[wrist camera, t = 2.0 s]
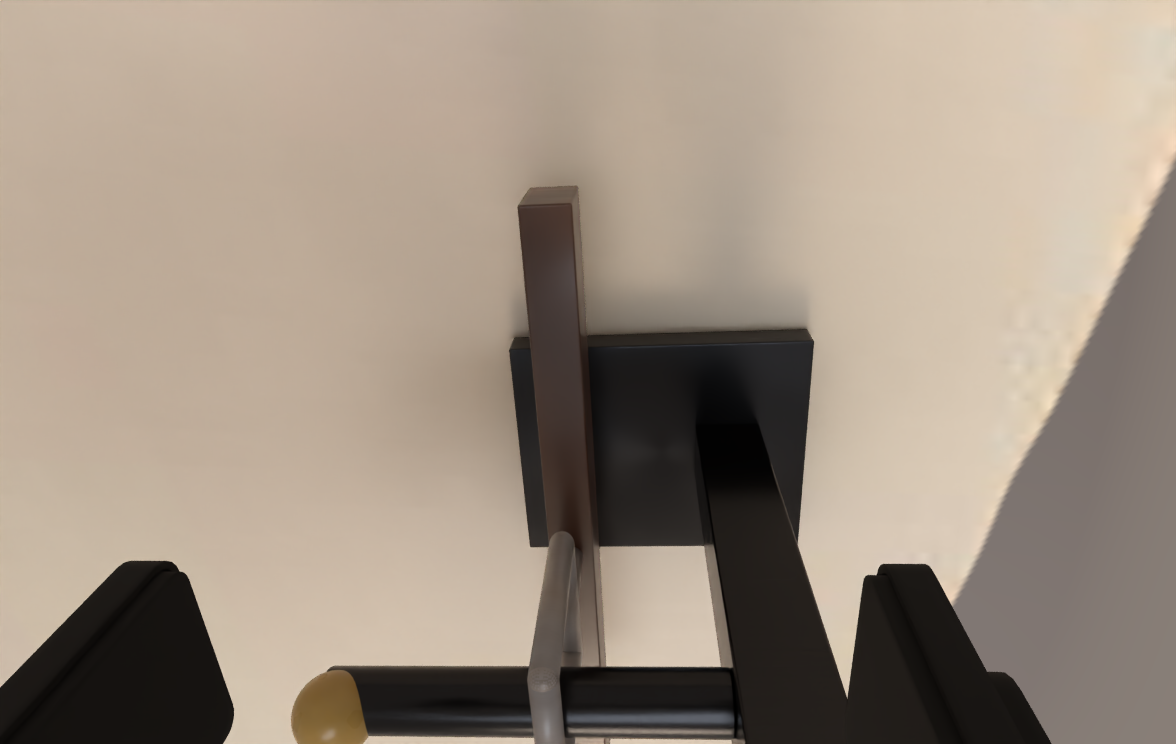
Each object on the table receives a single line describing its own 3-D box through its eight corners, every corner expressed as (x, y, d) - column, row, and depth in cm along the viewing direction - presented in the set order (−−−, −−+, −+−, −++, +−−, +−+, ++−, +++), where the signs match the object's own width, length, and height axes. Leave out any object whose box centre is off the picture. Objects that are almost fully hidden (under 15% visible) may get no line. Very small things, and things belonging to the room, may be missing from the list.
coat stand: (444, 531, 32) (296, 924, 18) (413, 340, 28) (194, 646, 14) (792, 527, 31) (926, 943, 17) (807, 328, 27) (996, 647, 13)
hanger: (575, 735, 30) (553, 1017, 21) (529, 187, 21) (456, 296, 12) (610, 735, 30) (601, 1019, 21) (578, 184, 21) (540, 293, 12)
